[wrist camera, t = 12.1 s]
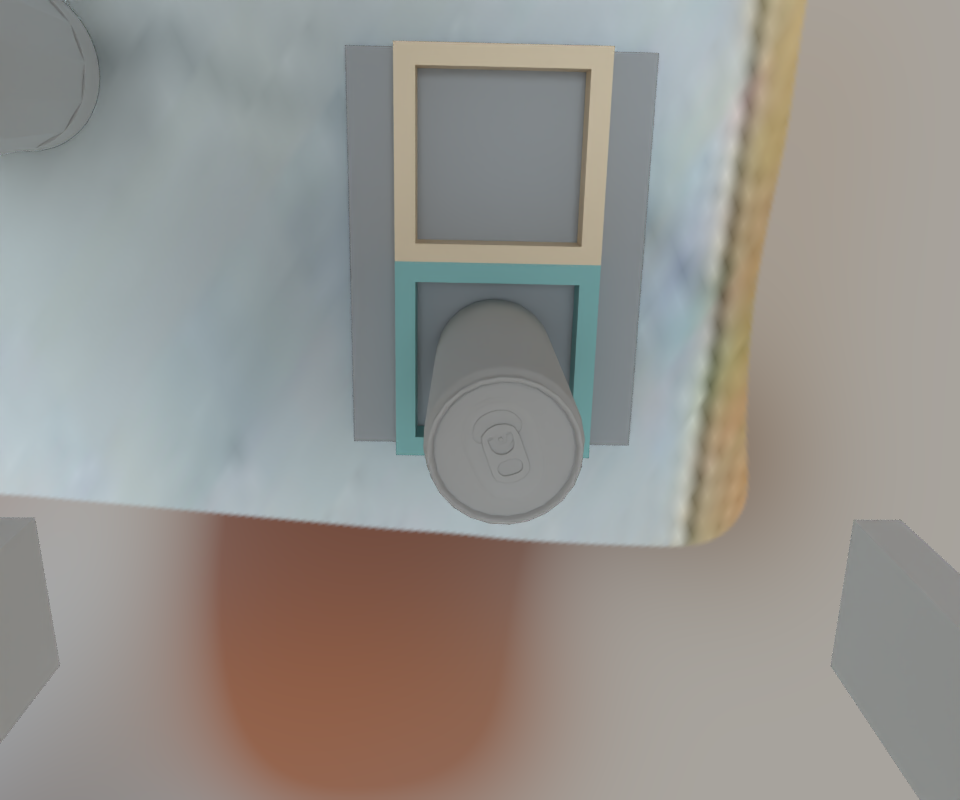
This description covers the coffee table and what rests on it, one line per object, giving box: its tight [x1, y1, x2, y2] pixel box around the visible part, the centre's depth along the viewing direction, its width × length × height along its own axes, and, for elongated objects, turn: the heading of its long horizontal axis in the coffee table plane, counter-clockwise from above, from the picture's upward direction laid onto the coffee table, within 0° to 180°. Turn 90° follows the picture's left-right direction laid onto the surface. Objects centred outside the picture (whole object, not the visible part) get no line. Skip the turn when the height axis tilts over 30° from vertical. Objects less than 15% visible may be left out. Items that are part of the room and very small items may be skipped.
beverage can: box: [423, 299, 585, 524], centre depth 30 cm, size 5×5×12 cm
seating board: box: [345, 41, 659, 458], centre depth 34 cm, size 16×12×2 cm
